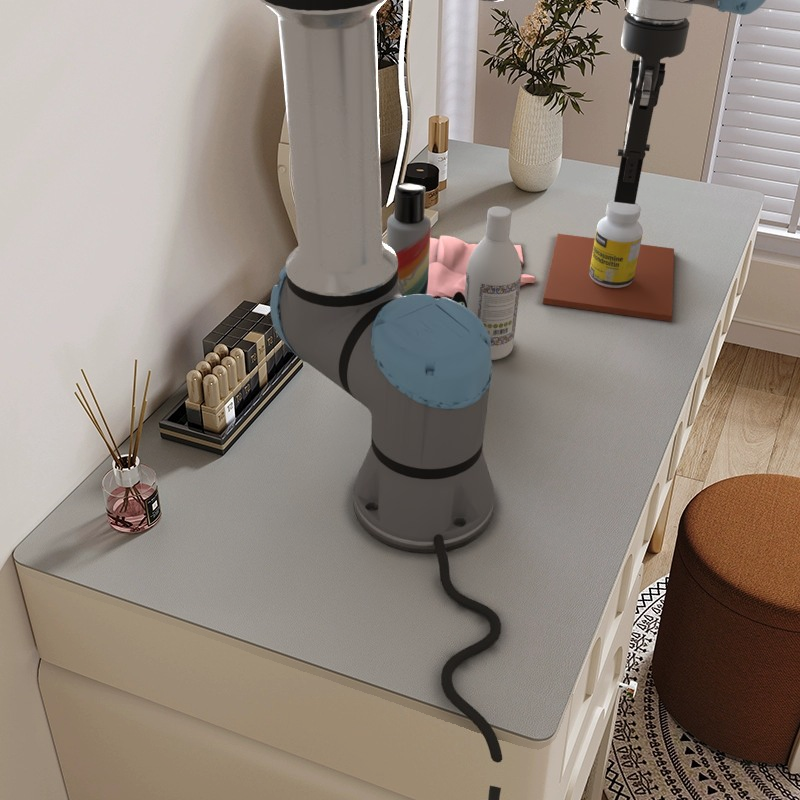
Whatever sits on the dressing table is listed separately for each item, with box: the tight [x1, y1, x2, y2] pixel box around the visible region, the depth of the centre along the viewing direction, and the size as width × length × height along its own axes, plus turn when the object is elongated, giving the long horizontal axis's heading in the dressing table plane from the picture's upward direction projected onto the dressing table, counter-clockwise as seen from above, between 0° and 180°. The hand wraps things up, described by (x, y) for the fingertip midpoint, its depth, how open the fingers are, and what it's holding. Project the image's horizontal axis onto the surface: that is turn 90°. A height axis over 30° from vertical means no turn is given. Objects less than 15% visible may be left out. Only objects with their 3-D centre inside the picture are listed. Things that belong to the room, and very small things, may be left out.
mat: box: [542, 233, 675, 323], centre depth 152 cm, size 20×18×1 cm
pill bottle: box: [590, 199, 644, 288], centre depth 147 cm, size 6×6×12 cm
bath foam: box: [464, 205, 523, 361], centre depth 131 cm, size 7×7×20 cm
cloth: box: [427, 235, 536, 298], centre depth 153 cm, size 20×22×2 cm
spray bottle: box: [386, 182, 432, 296], centre depth 136 cm, size 6×6×20 cm
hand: (624, 200), depth 134 cm, fingers closed
